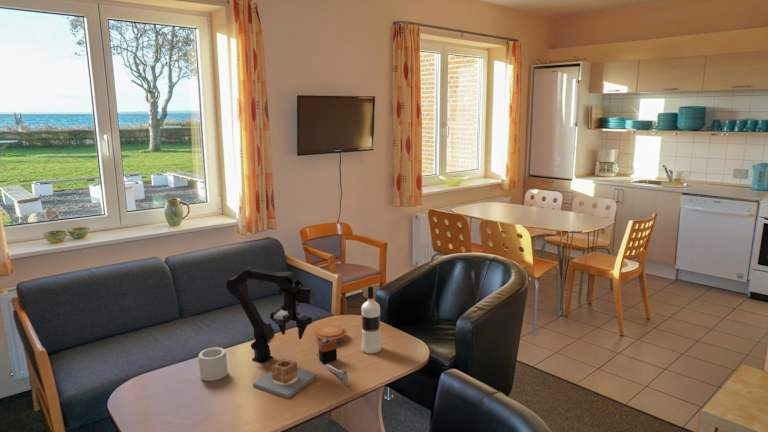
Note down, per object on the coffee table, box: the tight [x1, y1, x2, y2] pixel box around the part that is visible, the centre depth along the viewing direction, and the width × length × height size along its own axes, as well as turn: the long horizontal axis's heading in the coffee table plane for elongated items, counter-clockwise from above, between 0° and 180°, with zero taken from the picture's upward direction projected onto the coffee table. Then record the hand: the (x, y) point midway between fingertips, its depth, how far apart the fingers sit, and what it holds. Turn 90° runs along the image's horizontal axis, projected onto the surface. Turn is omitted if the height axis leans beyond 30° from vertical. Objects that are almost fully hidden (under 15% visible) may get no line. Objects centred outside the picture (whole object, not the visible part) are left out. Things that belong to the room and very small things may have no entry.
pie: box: [313, 324, 347, 344], centre depth 247 cm, size 16×16×5 cm
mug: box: [197, 346, 228, 382], centre depth 215 cm, size 14×11×10 cm
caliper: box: [324, 363, 349, 387], centre depth 213 cm, size 20×1×6 cm, turn 31°
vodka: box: [360, 286, 383, 355], centre depth 233 cm, size 9×9×30 cm
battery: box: [318, 338, 338, 365], centre depth 225 cm, size 4×7×10 cm, turn 120°
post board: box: [252, 367, 318, 399], centre depth 208 cm, size 18×18×6 cm
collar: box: [271, 358, 298, 384], centre depth 208 cm, size 7×7×6 cm
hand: (291, 336), depth 222 cm, fingers open, 9 cm apart
